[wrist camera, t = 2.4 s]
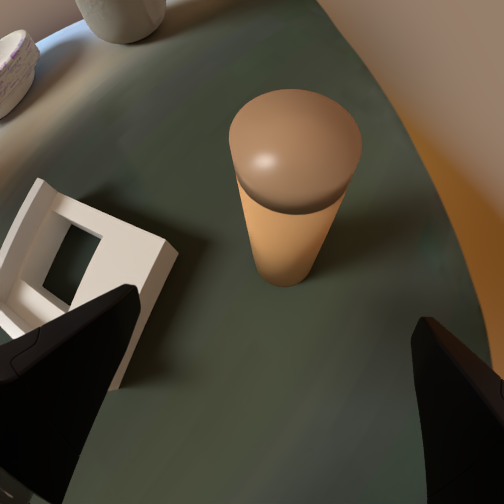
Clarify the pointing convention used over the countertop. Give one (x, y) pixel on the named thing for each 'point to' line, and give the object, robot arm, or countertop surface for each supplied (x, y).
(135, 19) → the light grey bottle
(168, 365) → the countertop surface
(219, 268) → the countertop surface
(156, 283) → the housing
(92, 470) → the countertop surface
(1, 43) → the paper bowls
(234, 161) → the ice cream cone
